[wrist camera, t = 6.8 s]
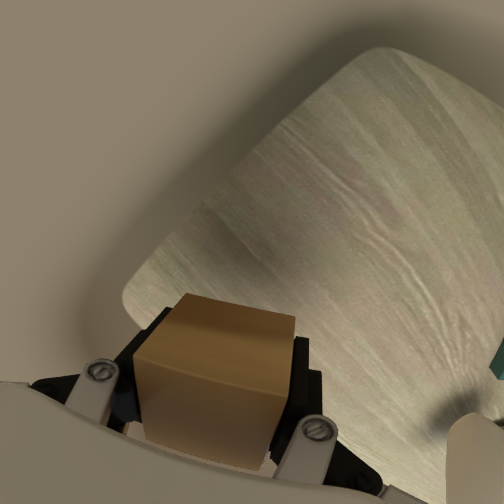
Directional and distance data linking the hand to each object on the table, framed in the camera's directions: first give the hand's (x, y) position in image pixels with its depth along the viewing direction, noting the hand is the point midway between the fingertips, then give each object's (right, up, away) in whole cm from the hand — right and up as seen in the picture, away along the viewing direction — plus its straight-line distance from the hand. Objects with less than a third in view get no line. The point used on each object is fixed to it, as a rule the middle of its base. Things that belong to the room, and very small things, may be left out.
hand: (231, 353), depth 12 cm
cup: (+27, -16, +15) cm, 35 cm away
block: (0, 0, 0) cm, 0 cm away
